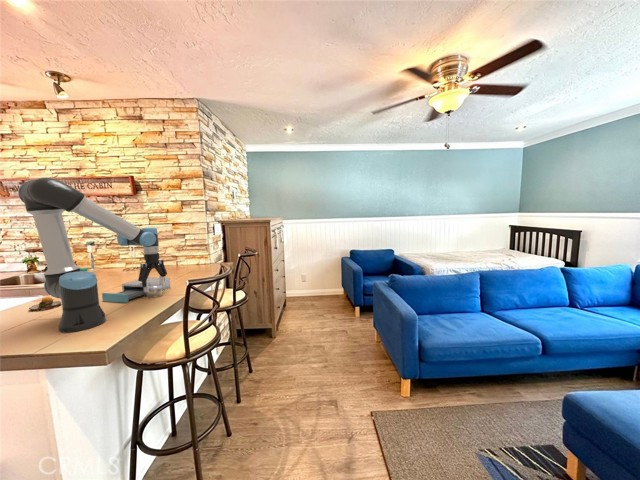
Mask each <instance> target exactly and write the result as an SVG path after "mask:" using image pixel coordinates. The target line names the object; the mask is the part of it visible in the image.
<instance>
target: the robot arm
mask: <svg viewBox="0 0 640 480" xmlns="http://www.w3.org/2000/svg"><path fill="white" fill-rule="evenodd" d="M17 194H18V198H19V200H21V202H23V204H24V205H25V211H26V213H28V214H30V215H32V216H33V219H34V224H35V226H36V230H37V231H36V232H37V233H38V237H39V240H40V244H41V248H42V252H43V255H44V256H43V257H44V259H45V263H46V267H47V269H46V270H45V271H44V273H43V275H44V278H45V281H44V284H43V288H44V290H45V292H46V294H48V296H49V295H50V296H51V297H52V298H53V297H54V298H56V299H60V301H61V304H62V305H61V308H62V313H61V317H60V319H59V322H58V325H57V326H58V331H59V332H60V333H74V332H80V331H86V330H89V329H91V328H95V327H97V326H99V325H101V324H103V323H105V322H106V321H107V319H106V318H107V317H106V314H105V312H104V311H103V309H102V307H101V305H100V299H99V298H100V297H99V289H98V287H99V286H98V278H97V275H96V273H95V272H93V271H89V270H88V271H86V272H84V271H81V270H80V268H81V266H79V265H76V264H75V262H74V261H75V260H74V257H73V253H72V249H71V245H70V242H69V238H68V237H69V236H68V231H67V228H66V224H65V220H64V217H63V213H64V212H65V211H66V212H68V213H76V214H78V215H79V216H81V217H83V218H85V219H87V220H89V221H91V222H93V223H95V224H97V225H99V226H101V227H103V228H105V229H107V230H109V231H111V232H113V233H115V234H117V236H116V240H117V244H118V245H119V246H120V247H124V246H125V247H127V246H128V247H129V246H138V247H142V249H143V254H144V255H143V259H144V261H145V263H140V267H139V268H140V270H139V274H138V279H137V280H138V281H142V286H143V288H144V292H149V288H148V281H147V278H148V277H150V276H149V275H150V273H151V271H152V270H153V269H155V270H156V272H157V273H158V275H159V276H158V278H159V282H160V284H162V287H164V281H165V278H166V276H167V274H168V272H167V269H166V267H165V264H164V262H165V261H164V260H163V259H161V260H160V253H159V252H160V250H159V249H160V247H159V234H158V228H157V227H152V226H151V227H142V228H140V227H138V226H136V225H134V223H131V222H129V221H128V220H125V219H124V218H123V217H120V216H119V215H117V214H115V213H113V212H111V211H110V210H109V209H107V208H104V207H102V206H101V205H100V204H97V203H96V202H93V200H90V199H88V198H87V197H86V194H85V193H82V192H81V191H79V190H78V189H76V188H74V187H72V186H71V185H69V184H67V183H65V182H64V181H61V180H60V179H59V180H58V179H56V178H52V177H41V178H40V177H39V178H36V179H31V180H28V181H25V182H23V183H21V185H20V186H19V188H18V190H17Z"/></svg>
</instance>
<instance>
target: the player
mask: <svg viewBox="0 0 640 480" xmlns="http://www.w3.org/2000/svg"><path fill="white" fill-rule="evenodd" d="M164 278H165V281H164V287H162V288H161V289H162V292H163V290H164V291H167V290H169V289H171V278H170V277H164ZM147 281H148V286H149V285H153V284H160V282H159V277H151V276H148V278H147ZM121 288H122V290H121V292H122V291H125V290H129V289H144V288H143V286H142V281H138V279H135V280H132V281H128V282H125V283H122V284H121ZM168 288H169V289H168ZM166 289H167V290H166ZM140 297H148V292H145V294H144V295H141V296H140Z"/></svg>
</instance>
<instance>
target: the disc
mask: <svg viewBox="0 0 640 480" xmlns="http://www.w3.org/2000/svg"><path fill="white" fill-rule="evenodd" d="M148 288H149V290H157V289H160V288H162V284H153V285H149V286H148Z"/></svg>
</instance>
